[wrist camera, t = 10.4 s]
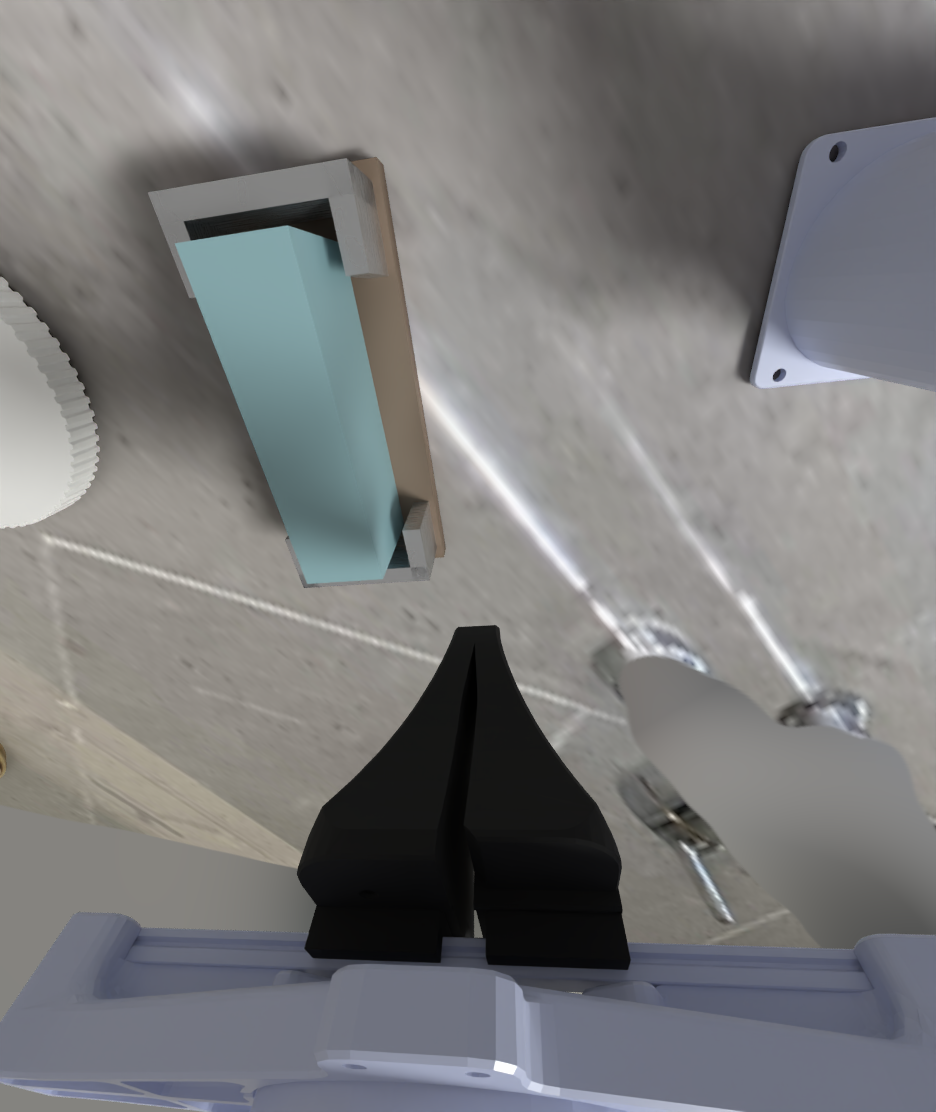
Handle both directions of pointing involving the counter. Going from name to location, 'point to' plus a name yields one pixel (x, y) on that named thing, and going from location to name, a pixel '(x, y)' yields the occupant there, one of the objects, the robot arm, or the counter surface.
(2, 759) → the toy sandwich meal
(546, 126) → the counter surface
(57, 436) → the plastic lid
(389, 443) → the end cap board
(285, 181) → the end caps
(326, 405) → the teal rectangular block
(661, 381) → the counter surface
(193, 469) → the counter surface
